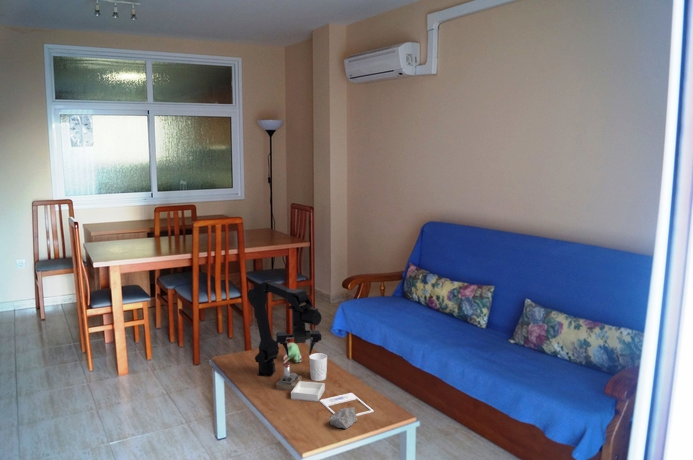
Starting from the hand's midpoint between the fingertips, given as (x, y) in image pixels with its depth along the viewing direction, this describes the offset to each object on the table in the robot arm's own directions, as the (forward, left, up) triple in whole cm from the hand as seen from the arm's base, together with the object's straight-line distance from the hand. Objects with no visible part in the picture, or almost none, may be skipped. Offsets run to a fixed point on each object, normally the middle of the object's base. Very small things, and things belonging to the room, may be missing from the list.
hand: (298, 355), depth 239 cm
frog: (-11, +25, -13) cm, 30 cm away
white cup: (+6, +9, -13) cm, 17 cm away
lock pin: (-4, -4, -11) cm, 12 cm away
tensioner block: (-4, -1, -13) cm, 14 cm away
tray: (+6, -8, -13) cm, 17 cm away
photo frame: (+24, -15, -14) cm, 32 cm away
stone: (+26, -29, -14) cm, 42 cm away
